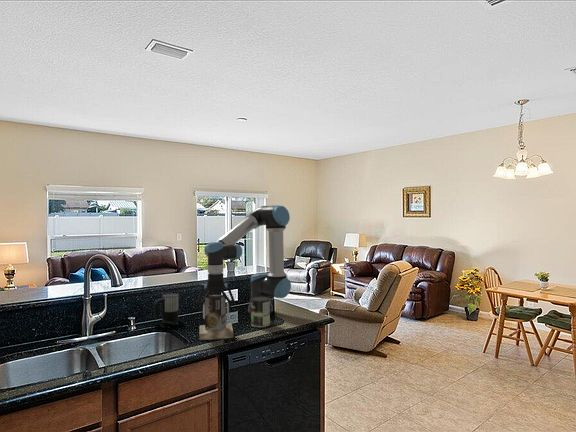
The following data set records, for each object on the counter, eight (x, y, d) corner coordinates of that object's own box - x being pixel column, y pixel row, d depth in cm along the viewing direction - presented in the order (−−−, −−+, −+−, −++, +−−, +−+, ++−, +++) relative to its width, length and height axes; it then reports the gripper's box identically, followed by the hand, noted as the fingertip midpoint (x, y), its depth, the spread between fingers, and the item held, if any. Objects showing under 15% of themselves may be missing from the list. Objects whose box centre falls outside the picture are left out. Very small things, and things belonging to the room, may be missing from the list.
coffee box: (226, 326, 185) (226, 294, 185) (221, 330, 179) (221, 297, 179) (209, 325, 187) (209, 294, 187) (204, 329, 181) (203, 297, 181)
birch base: (231, 328, 192) (231, 323, 192) (233, 337, 178) (233, 331, 178) (199, 331, 188) (199, 325, 188) (199, 340, 175) (199, 333, 175)
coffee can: (253, 328, 193) (253, 301, 193) (249, 322, 203) (249, 297, 203) (272, 326, 196) (272, 299, 196) (267, 321, 206) (267, 295, 206)
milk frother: (171, 318, 213) (171, 292, 213) (191, 322, 205) (190, 295, 205) (150, 324, 201) (150, 297, 201) (170, 329, 193) (170, 300, 193)
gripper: (191, 275, 177) (191, 321, 177) (240, 273, 182) (240, 317, 182) (191, 272, 184) (191, 316, 184) (238, 271, 189) (239, 313, 190)
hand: (216, 317), depth 183 cm, fingers open, 11 cm apart
